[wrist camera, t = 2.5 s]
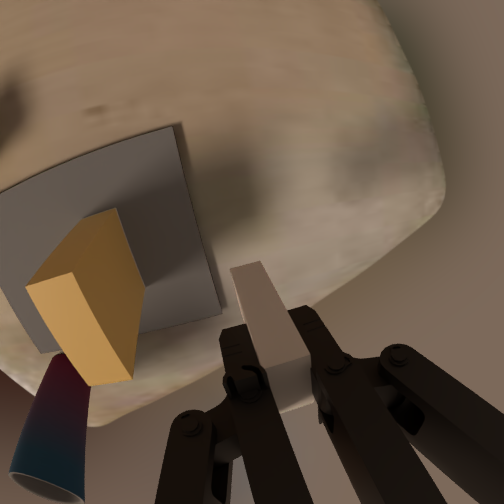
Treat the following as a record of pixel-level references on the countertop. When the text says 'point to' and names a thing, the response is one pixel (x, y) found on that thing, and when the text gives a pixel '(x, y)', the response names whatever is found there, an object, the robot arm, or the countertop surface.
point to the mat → (133, 222)
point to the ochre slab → (92, 298)
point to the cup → (55, 437)
